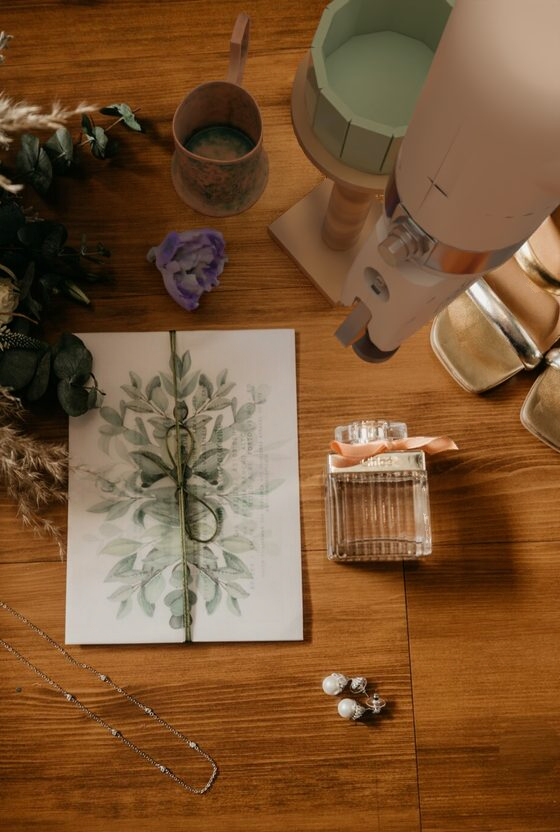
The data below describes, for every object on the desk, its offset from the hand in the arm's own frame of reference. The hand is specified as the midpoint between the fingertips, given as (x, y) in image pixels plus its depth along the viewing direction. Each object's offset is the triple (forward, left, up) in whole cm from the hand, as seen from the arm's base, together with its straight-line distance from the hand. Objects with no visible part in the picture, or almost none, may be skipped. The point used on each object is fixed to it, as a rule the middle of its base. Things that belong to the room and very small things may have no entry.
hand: (390, 314), depth 53 cm
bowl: (-13, -14, -4) cm, 19 cm away
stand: (-13, -14, -30) cm, 35 cm away
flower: (+4, -22, -30) cm, 37 cm away
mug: (-10, -31, -30) cm, 44 cm away
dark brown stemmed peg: (0, 0, -7) cm, 7 cm away
